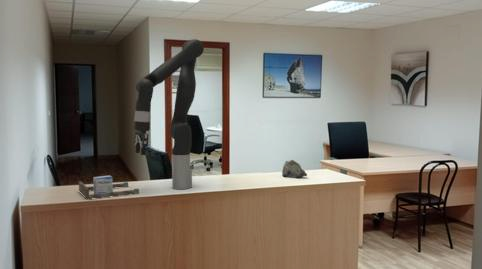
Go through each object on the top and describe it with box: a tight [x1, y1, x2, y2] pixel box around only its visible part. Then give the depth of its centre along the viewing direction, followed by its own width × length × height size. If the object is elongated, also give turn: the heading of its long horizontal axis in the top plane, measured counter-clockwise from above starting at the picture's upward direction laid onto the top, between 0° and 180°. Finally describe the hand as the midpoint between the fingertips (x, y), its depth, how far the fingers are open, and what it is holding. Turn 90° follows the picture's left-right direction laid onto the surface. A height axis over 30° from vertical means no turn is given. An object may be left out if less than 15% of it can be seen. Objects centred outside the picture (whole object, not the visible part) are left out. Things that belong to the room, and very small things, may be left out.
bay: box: [78, 181, 140, 200], centre depth 216 cm, size 24×19×5 cm
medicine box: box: [92, 174, 114, 194], centre depth 212 cm, size 8×4×9 cm, turn 126°
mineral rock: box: [281, 159, 308, 179], centre depth 254 cm, size 13×11×10 cm
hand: (140, 154), depth 216 cm, fingers open, 8 cm apart
